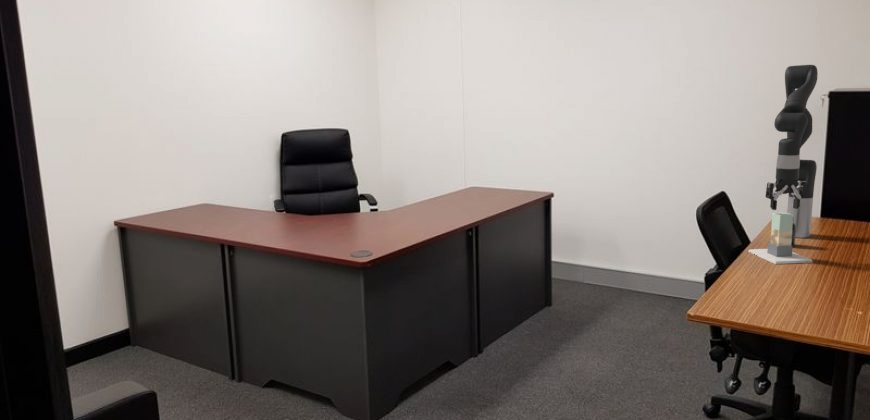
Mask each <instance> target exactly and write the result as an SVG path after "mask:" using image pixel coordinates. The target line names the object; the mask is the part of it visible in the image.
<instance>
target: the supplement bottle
mask: <svg viewBox="0 0 870 420" xmlns="http://www.w3.org/2000/svg"><path fill="white" fill-rule="evenodd" d="M793 222H794V217H793ZM795 235H796V225H795V224H794V223H793V225H792V241H791V246H793V247H795V246H796V237H795Z"/></svg>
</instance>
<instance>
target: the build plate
mask: <svg viewBox="0 0 870 420" xmlns="http://www.w3.org/2000/svg"><path fill="white" fill-rule="evenodd" d="M793 247H794V246H776V245H774V244H771V242H768V243H767V248H754V249H752V248H751V249H748V253H750V252H751V253H750V254H752V255H754V254H755V255H754V256H756V255H757V256H756V257H759V258H761V259H763V260H766V262H767V261H768V262H770V263H772V264H775V265H783V264H784V265H785V264H787V265H789V264H790V265H791V264H808V263H809V264H810V263H813V259H811V258H808V257H806V256H804V255H801V254H798V253H796V252H794V251H793V249H794V248H793Z"/></svg>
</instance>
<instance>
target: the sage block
mask: <svg viewBox="0 0 870 420" xmlns="http://www.w3.org/2000/svg"><path fill="white" fill-rule="evenodd" d="M792 225H793V214H789V213H787V212H785V211H784V212H783V211H781V212H779V211H778V212H772V214H771V227H770V229H772V228H773V229H776V230H778V231H787V230H792Z"/></svg>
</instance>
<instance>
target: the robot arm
mask: <svg viewBox="0 0 870 420" xmlns="http://www.w3.org/2000/svg"><path fill="white" fill-rule="evenodd" d="M818 75H819V74H818V68H817V65H814V64H801V65H789V66H787V67H786V69H785V72H784V84H785V85H784V86H785V98H786V100H785V104H784V106H783V108H782V109H781V110H780V111H779V113H778V114H777V115H776V117H775V119H774V128H775V130H776V131H777V132H780V133H786V137H787V138H781V139H780V140H779V141H778V151H777V152H778V153H777V157H776V158H777V159H776V166H775V167H776V168H775V182H767V183H766V187H765V198H766V199H769V200H770V205H769V207H770V209H771V210H773V211H776V210H777V206H778V200H777V199H778V198H779V197H780V196H782V194H783V195H786V194H788V197H787V199H788V200H787V212H786V213H789V214H793V217H794V222H793V223H794V224H795V225H796V235H795V238H799V239H800V238H801V239H803V238H809V237H810V236H811V226H812V217H813V214H812V213H813V203H814V193H815V192H814V191H815V182H816V176H817V168H818V166H817V162H816V161H815V160H813V159H800V156H801V154H800V152H801V148H802V147H803V145H805V143H806V142H807V141H808V140H809V138H810V137H811V135H812V133H813V116H812V114H811V112H810V111H809V110H808V108H807V104H808V101H809V99H810V96H811V95H812V93H813V91H814V89H815V87H816V85H817V82H818Z"/></svg>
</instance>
